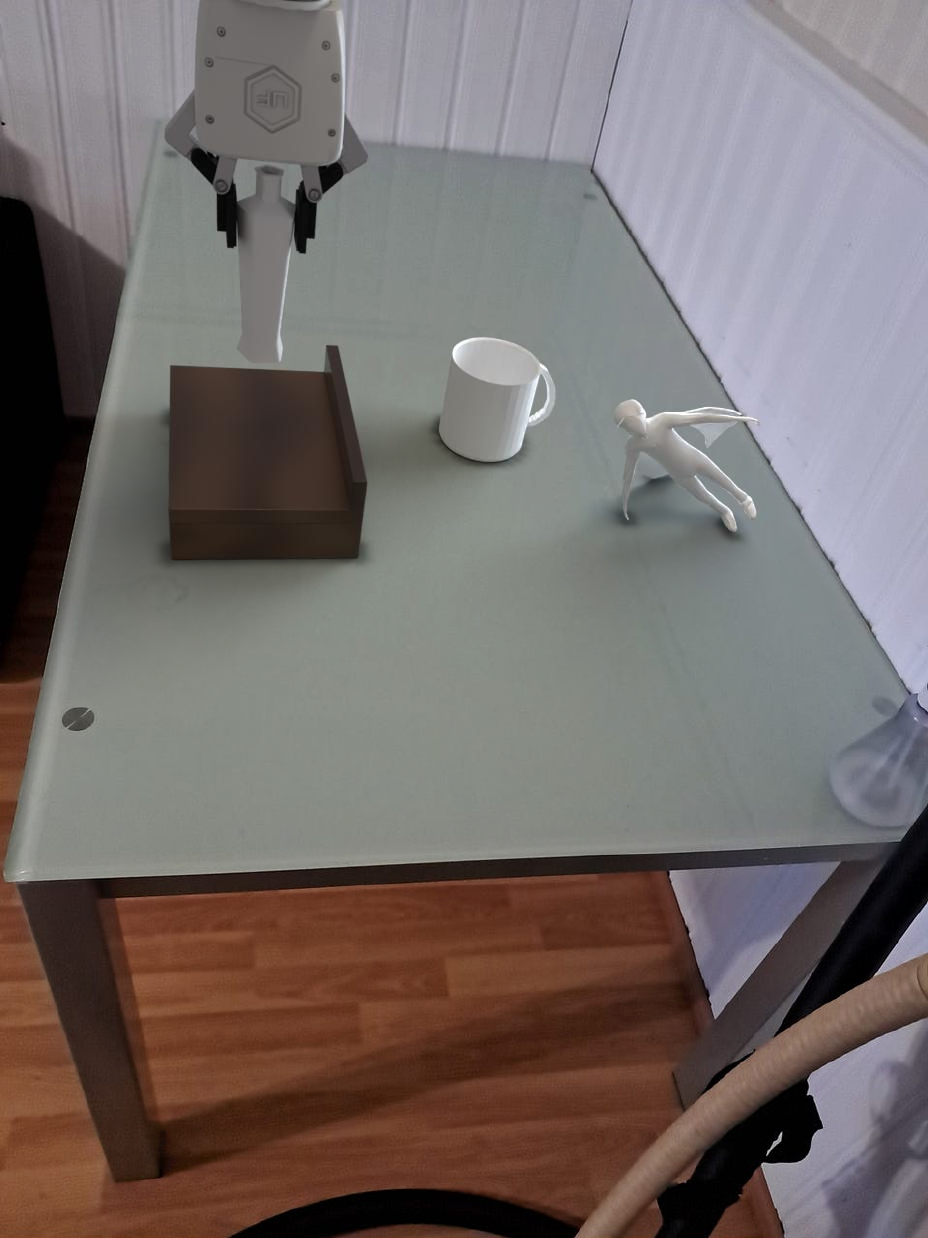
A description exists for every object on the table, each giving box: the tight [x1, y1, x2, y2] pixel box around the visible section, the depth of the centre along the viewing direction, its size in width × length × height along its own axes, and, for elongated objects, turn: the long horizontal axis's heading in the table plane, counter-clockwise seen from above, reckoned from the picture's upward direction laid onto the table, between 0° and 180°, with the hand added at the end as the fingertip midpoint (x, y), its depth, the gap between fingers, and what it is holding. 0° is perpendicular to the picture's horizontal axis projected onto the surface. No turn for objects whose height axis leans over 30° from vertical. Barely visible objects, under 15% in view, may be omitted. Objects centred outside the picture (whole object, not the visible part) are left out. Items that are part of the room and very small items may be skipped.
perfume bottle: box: [236, 164, 296, 364], centre depth 76 cm, size 5×4×15 cm
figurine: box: [608, 399, 761, 533], centre depth 94 cm, size 16×11×20 cm
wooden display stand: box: [167, 344, 368, 560], centre depth 88 cm, size 16×22×8 cm
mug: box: [438, 336, 556, 463], centre depth 100 cm, size 12×9×9 cm
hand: (265, 240), depth 74 cm, fingers closed on perfume bottle, 4 cm apart
